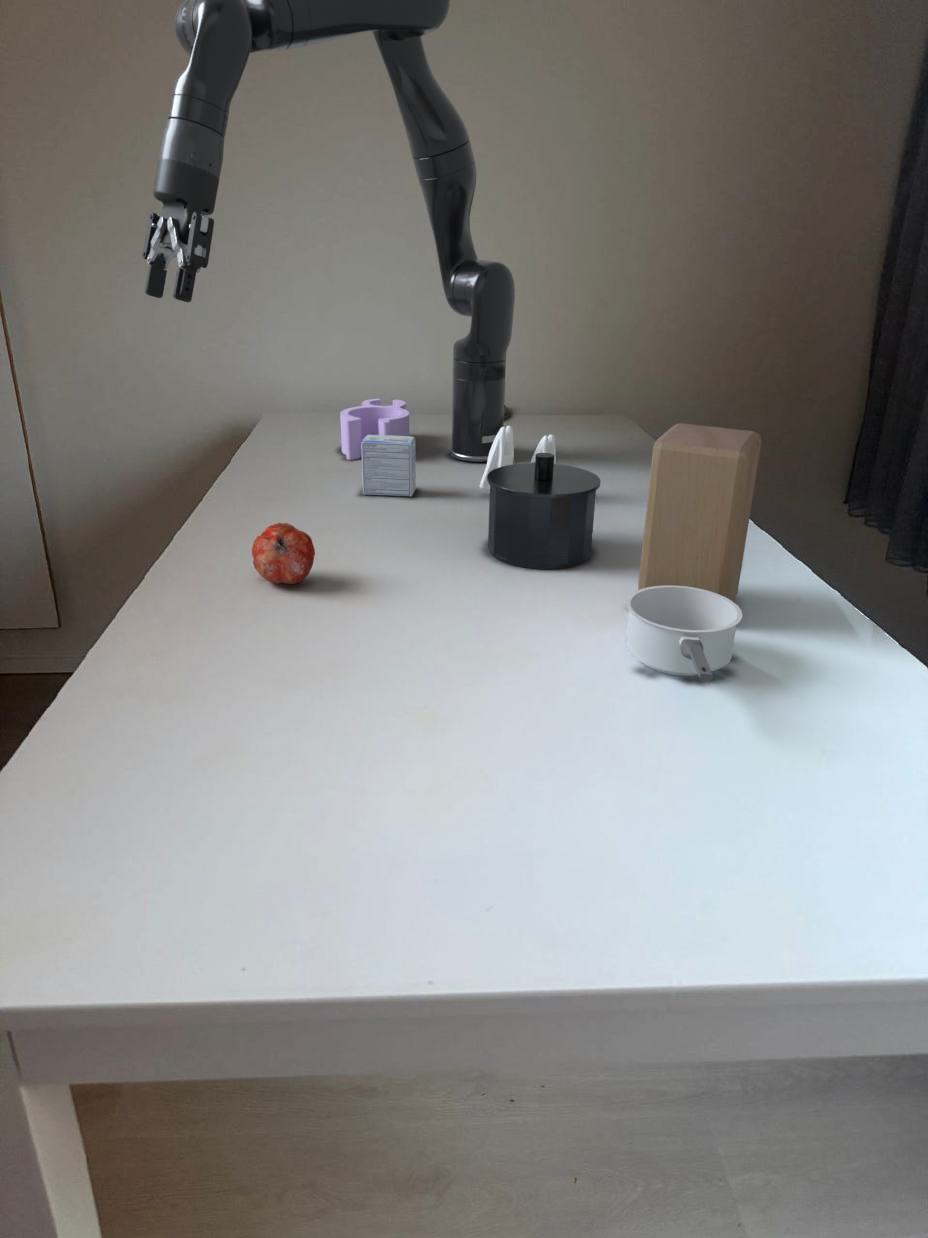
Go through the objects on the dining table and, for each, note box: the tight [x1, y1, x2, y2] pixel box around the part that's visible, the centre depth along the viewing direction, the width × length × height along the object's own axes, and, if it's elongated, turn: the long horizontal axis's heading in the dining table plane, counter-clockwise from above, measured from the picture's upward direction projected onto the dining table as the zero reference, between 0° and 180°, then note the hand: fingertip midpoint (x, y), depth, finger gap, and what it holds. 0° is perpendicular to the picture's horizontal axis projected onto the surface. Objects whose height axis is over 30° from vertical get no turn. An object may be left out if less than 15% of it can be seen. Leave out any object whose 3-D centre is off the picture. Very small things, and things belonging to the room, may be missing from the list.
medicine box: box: [361, 435, 417, 497], centre depth 142 cm, size 8×4×9 cm, turn 84°
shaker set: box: [479, 425, 557, 495], centre depth 141 cm, size 12×4×11 cm, turn 93°
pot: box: [487, 485, 597, 570], centre depth 119 cm, size 14×14×10 cm
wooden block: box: [637, 422, 762, 602], centre depth 101 cm, size 10×10×20 cm
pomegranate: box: [251, 522, 316, 585], centre depth 109 cm, size 7×7×10 cm
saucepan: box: [625, 585, 743, 683], centre depth 88 cm, size 12×20×6 cm, turn 175°
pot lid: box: [487, 453, 601, 498], centre depth 116 cm, size 15×15×4 cm
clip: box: [339, 398, 410, 461], centre depth 168 cm, size 20×12×7 cm, turn 174°
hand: (167, 298), depth 117 cm, fingers open, 8 cm apart
